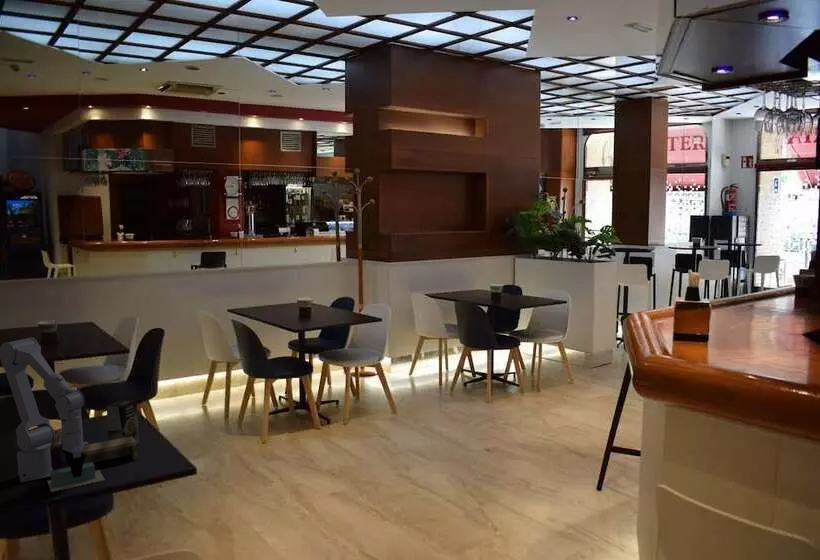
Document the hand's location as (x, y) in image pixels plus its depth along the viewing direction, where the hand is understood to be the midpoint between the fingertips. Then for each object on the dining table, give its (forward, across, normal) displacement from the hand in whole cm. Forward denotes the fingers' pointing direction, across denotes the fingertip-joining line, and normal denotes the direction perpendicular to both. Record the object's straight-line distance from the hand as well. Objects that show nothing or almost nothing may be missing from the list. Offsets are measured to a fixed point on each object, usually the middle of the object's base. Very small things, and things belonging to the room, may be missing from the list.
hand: (75, 473), depth 214 cm
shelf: (+3, +12, -10) cm, 16 cm away
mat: (+3, 0, 0) cm, 3 cm away
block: (+2, 0, +1) cm, 2 cm away
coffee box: (+3, +25, -19) cm, 32 cm away
